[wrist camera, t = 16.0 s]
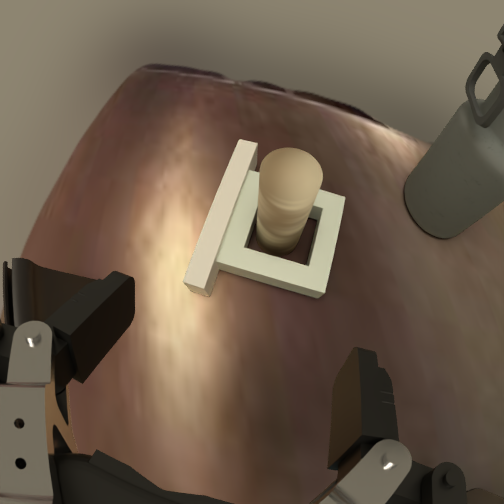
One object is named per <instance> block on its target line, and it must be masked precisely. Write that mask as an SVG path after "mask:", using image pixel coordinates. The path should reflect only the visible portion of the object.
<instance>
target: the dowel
mask: <svg viewBox="0 0 504 504" xmlns="http://www.w3.org/2000/svg"><path fill="white" fill-rule="evenodd" d="M322 179H323V174H322V169H321V167H320V165H319V163H318V162H317V160H316V159H315V158H314V157H313V156H311V155H310V154H308V153H307V152H305V151H303V150H300V149H296V148H281V149H277V150H275V151H273V152H271V153H269V154H268V155H267V156H266V157H265V158H264V159H263V161H262V163H261V166H260V174H259V192H258V210H257V228H256V240H257V243H258V245H259V247H260V248H261V249H262V250H263V251H264V252H265V253H267V254H268V255H272V256H276V257H280V256H285V255H287V254H289V253H291V252H292V251H293V250H294V249H295V247H296V246H297V243H298V241H299V238H300V236H301V234H302V231H303V229H304V226H305V224H306V221H307V219H308V216H309V214H310V212H311V209H312V207H313V204H314V202H315V199H316V197H317V194H318V191H319V189H320V186H321V184H322Z"/></svg>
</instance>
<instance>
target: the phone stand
mask: <svg viewBox="0 0 504 504" xmlns="http://www.w3.org/2000/svg"><path fill="white" fill-rule="evenodd" d="M93 281H95V279H90V278H86V277H81V276H77V275H73V274H69V273H64V272H60V271H56V270H52V269H48V268H44V267H41V266H38V265H36V264H35V263H33V262H32V261H30V260H28V259H24V258H13V259H12V269H10V268H8V267H7V262H6V261H5V262H4V263H3V301H4V318H5V324H7V325H11V326H14V327H19V326H20V325H22V324H24V323H26V322H29V321H41V322H44V321H45V320H46V319H48V318H49V317H50V316H51V315H52V314H53V313H54V312H55V311H56V310H58V309H59V308H60V307H61V306H62V305H63V304H64V303H65V302H67V301H68V300H70V299H71V297H72V296H73V295H75V294H76V293H78V291H79V290H80V289H82V288H83V287H84V286H85V285H86V284H88V283H91V282H93Z"/></svg>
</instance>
